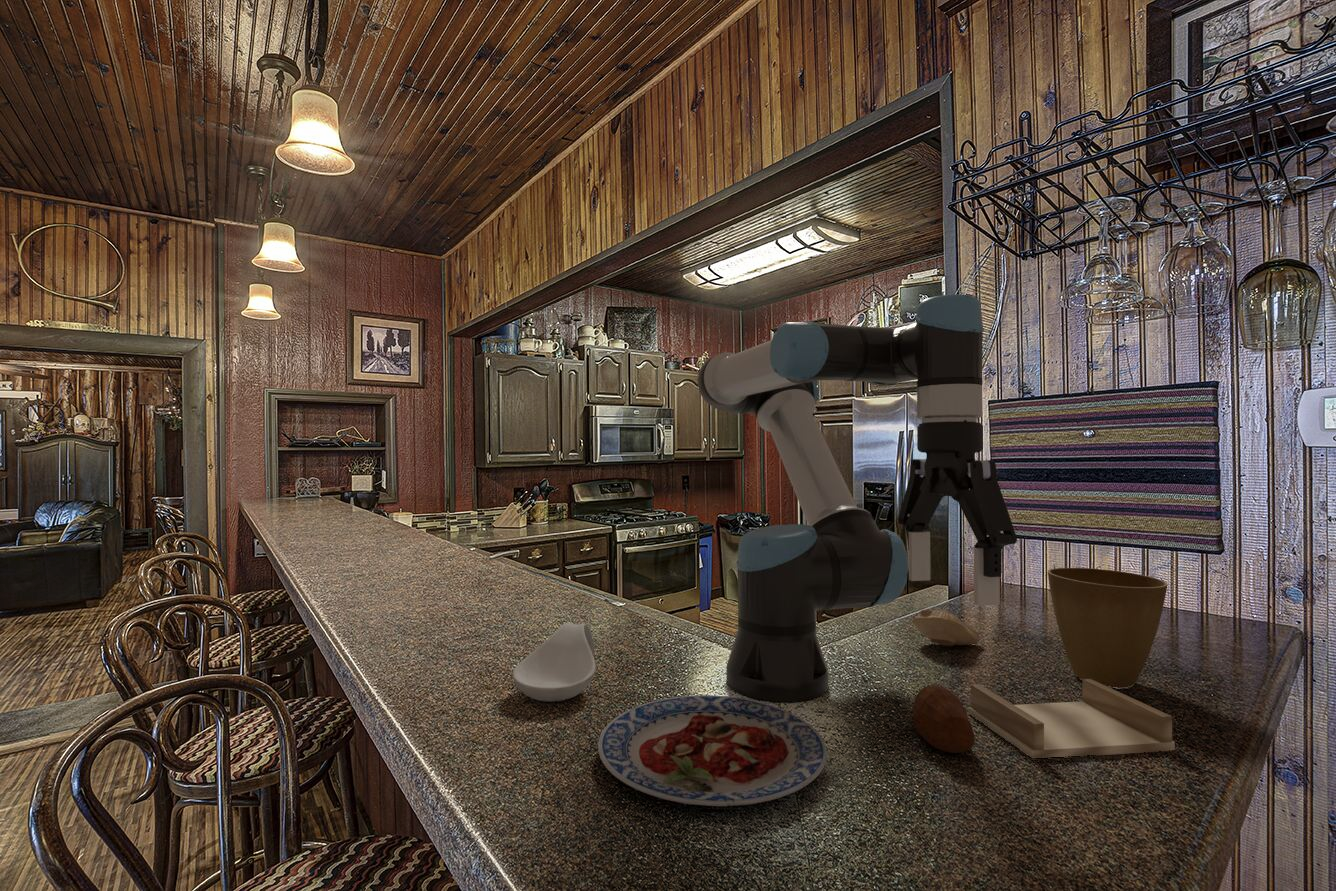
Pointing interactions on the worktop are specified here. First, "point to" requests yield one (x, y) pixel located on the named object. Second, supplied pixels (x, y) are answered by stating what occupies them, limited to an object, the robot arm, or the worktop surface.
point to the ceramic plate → (712, 750)
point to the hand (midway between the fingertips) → (950, 591)
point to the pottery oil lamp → (945, 628)
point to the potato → (942, 720)
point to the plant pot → (1106, 621)
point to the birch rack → (1076, 723)
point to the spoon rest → (558, 665)
